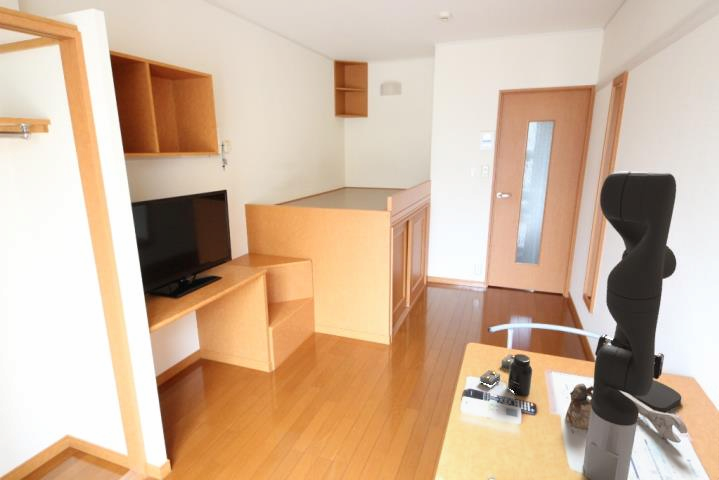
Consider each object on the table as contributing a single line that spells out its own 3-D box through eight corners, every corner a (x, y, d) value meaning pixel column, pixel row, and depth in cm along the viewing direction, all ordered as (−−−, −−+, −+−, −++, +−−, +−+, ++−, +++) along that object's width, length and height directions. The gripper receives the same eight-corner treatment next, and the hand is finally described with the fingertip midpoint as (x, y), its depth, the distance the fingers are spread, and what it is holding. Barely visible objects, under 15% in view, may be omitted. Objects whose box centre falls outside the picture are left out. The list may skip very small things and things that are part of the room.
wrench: (604, 394, 132) (686, 451, 103) (599, 394, 132) (679, 452, 103) (605, 371, 131) (688, 422, 102) (600, 371, 131) (681, 423, 102)
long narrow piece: (490, 388, 131) (491, 380, 131) (480, 383, 134) (480, 375, 134) (519, 364, 145) (520, 357, 145) (509, 360, 148) (509, 353, 148)
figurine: (566, 410, 120) (570, 375, 117) (593, 418, 117) (598, 382, 114) (564, 424, 114) (568, 387, 111) (592, 432, 111) (597, 395, 108)
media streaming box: (661, 417, 117) (662, 409, 116) (610, 391, 129) (611, 383, 128) (685, 402, 124) (687, 393, 123) (634, 378, 136) (636, 371, 135)
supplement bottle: (508, 394, 128) (511, 361, 125) (507, 382, 134) (509, 351, 132) (531, 398, 126) (534, 364, 123) (528, 386, 132) (532, 353, 130)
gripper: (598, 318, 102) (588, 373, 106) (665, 339, 92) (651, 400, 96) (608, 310, 107) (598, 363, 111) (673, 330, 96) (660, 387, 101)
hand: (623, 380), depth 103 cm, fingers open, 8 cm apart
